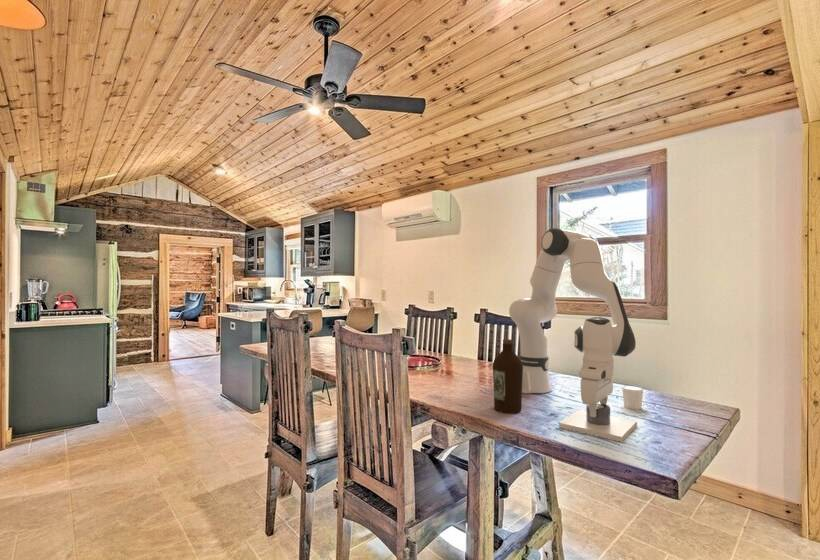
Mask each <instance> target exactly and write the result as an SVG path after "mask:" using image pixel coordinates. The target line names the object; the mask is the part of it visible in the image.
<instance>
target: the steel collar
mask: <svg viewBox="0 0 820 560" xmlns="http://www.w3.org/2000/svg"><path fill="white" fill-rule="evenodd" d="M585 405H586V410H585V411H586V420H587V422H589V423H591V424H595V425H609V424H610V416H611V407H610V406H609V405H608V404H606V405H605V404H601V403H600V402H598V403H597V405H602V406H604V408H596V411H597V416H596V417H591V416H590V411H589V407H588V404H585Z"/></svg>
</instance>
